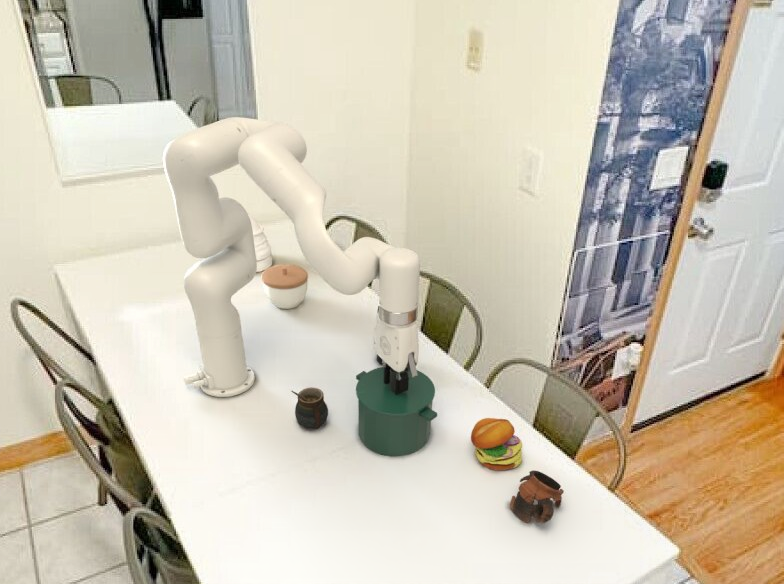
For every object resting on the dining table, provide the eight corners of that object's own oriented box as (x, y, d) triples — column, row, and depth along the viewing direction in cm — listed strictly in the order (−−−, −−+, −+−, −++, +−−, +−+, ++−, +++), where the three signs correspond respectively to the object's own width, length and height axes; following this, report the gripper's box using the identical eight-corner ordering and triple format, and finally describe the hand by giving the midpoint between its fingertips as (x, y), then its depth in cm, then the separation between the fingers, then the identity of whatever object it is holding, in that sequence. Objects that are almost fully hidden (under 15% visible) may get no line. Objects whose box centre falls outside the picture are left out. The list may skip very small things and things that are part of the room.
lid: (398, 430, 126) (399, 405, 122) (339, 393, 134) (338, 369, 130) (450, 392, 137) (452, 368, 133) (392, 361, 145) (393, 338, 141)
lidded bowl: (318, 300, 186) (316, 266, 180) (288, 318, 177) (285, 283, 171) (286, 287, 191) (283, 254, 185) (255, 304, 182) (251, 269, 176)
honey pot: (223, 269, 198) (215, 214, 188) (240, 252, 209) (234, 199, 198) (263, 275, 197) (257, 219, 186) (278, 257, 207) (273, 204, 197)
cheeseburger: (510, 482, 131) (505, 442, 126) (465, 470, 136) (458, 431, 132) (531, 453, 138) (527, 415, 133) (487, 443, 144) (482, 406, 139)
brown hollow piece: (500, 496, 128) (519, 462, 126) (538, 509, 131) (558, 476, 130) (520, 531, 117) (542, 494, 115) (561, 545, 120) (583, 509, 119)
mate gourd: (334, 427, 142) (333, 391, 136) (302, 438, 138) (300, 402, 132) (320, 408, 146) (318, 373, 141) (289, 419, 143) (286, 384, 137)
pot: (406, 473, 131) (408, 431, 125) (335, 427, 142) (333, 386, 135) (453, 436, 141) (457, 395, 135) (383, 395, 152) (384, 355, 145)
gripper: (359, 297, 127) (360, 372, 138) (405, 337, 116) (402, 414, 127) (391, 288, 131) (389, 362, 141) (438, 326, 120) (433, 402, 131)
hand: (395, 386), depth 134 cm, fingers open, 3 cm apart
